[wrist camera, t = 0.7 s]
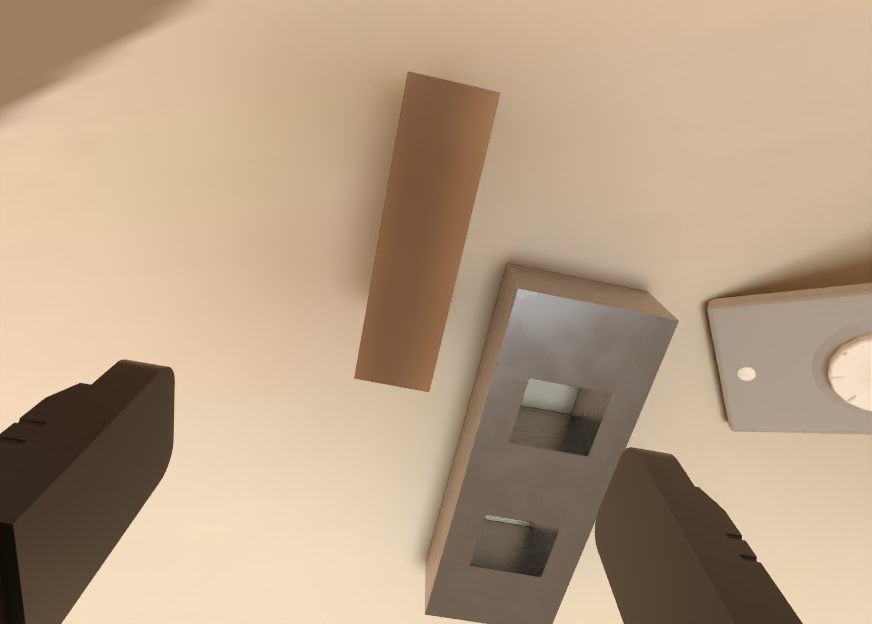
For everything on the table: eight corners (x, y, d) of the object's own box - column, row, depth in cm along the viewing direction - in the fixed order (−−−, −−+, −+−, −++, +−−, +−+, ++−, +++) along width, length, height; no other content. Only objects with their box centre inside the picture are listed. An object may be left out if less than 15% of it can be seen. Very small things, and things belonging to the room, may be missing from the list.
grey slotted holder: (648, 292, 30) (678, 320, 26) (537, 579, 38) (548, 632, 34) (507, 263, 29) (518, 288, 25) (425, 562, 37) (424, 614, 33)
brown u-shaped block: (481, 92, 26) (500, 92, 18) (430, 318, 30) (429, 392, 23) (415, 76, 25) (407, 71, 18) (374, 307, 30) (354, 378, 23)
